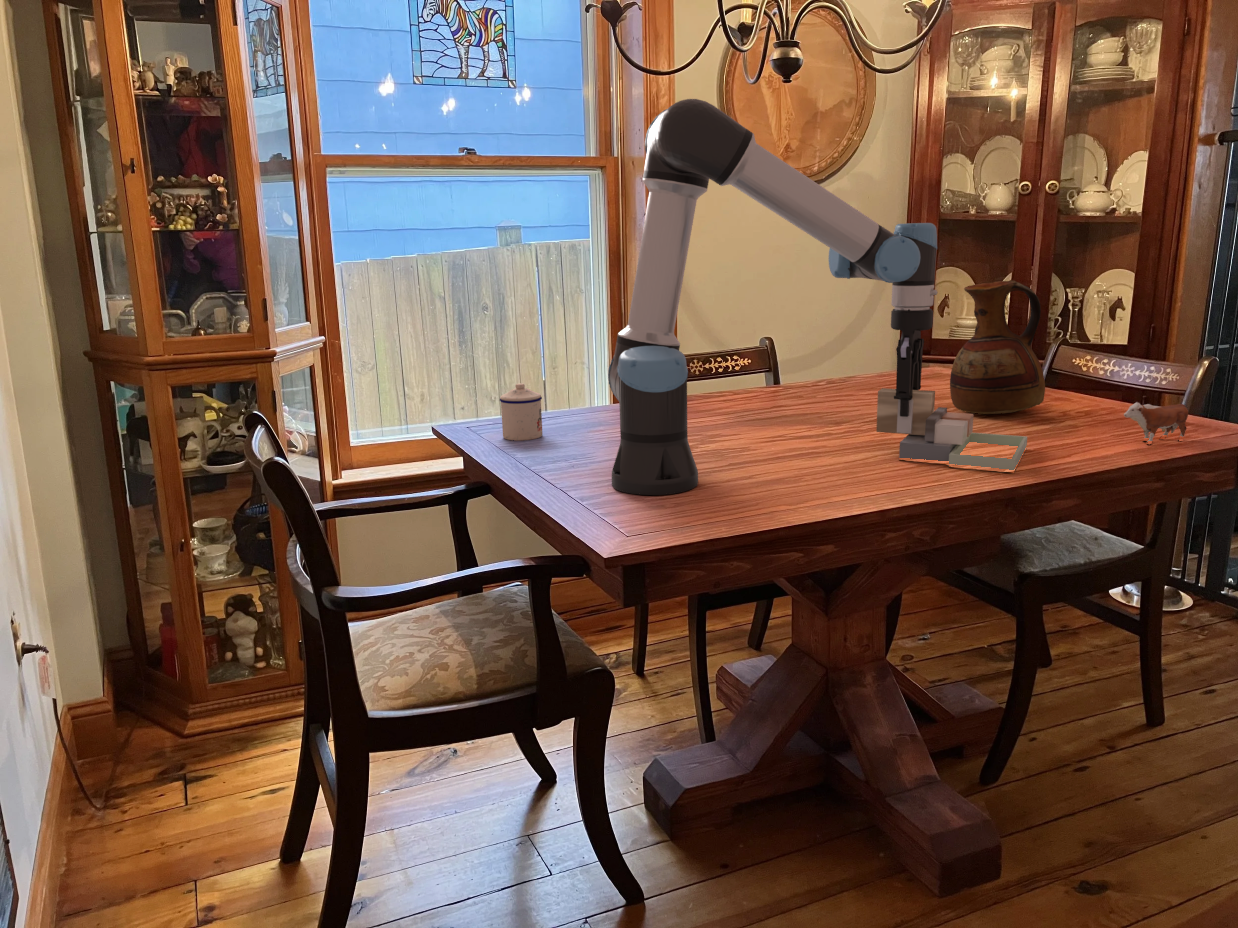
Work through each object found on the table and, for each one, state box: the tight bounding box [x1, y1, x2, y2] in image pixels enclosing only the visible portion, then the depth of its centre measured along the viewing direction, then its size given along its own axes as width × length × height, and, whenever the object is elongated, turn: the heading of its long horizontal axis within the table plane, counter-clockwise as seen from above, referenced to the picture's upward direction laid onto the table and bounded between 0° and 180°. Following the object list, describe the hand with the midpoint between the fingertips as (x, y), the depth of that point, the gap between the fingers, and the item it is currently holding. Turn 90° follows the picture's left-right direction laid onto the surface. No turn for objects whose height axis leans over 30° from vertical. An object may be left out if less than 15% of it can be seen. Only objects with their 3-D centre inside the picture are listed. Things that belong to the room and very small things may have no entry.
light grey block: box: [934, 419, 968, 445], centre depth 176 cm, size 5×5×4 cm
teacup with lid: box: [499, 382, 543, 442], centre depth 207 cm, size 12×9×12 cm
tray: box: [949, 432, 1028, 470], centre depth 177 cm, size 20×11×2 cm, turn 152°
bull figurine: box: [1123, 401, 1189, 442], centre depth 185 cm, size 4×13×8 cm, turn 102°
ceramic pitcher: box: [949, 280, 1046, 415], centre depth 214 cm, size 20×20×30 cm
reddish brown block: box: [942, 411, 975, 437], centre depth 182 cm, size 5×5×4 cm
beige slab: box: [875, 387, 948, 442], centre depth 182 cm, size 13×12×8 cm
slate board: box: [898, 434, 957, 461], centre depth 181 cm, size 16×9×4 cm, turn 152°
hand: (906, 430), depth 183 cm, fingers closed on beige slab, 3 cm apart
